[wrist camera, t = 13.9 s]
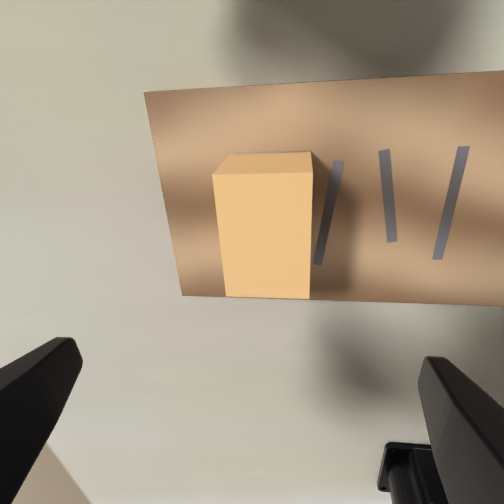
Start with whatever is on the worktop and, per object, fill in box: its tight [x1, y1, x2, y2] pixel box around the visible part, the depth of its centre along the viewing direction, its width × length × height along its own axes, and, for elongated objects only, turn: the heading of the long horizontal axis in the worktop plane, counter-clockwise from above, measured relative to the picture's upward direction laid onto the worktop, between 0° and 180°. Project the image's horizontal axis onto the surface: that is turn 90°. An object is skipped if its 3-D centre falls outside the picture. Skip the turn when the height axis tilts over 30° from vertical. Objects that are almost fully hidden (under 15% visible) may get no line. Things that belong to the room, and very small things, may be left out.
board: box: [144, 70, 504, 306], centre depth 18 cm, size 12×22×1 cm, turn 93°
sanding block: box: [212, 151, 313, 299], centre depth 16 cm, size 6×4×4 cm, turn 3°
